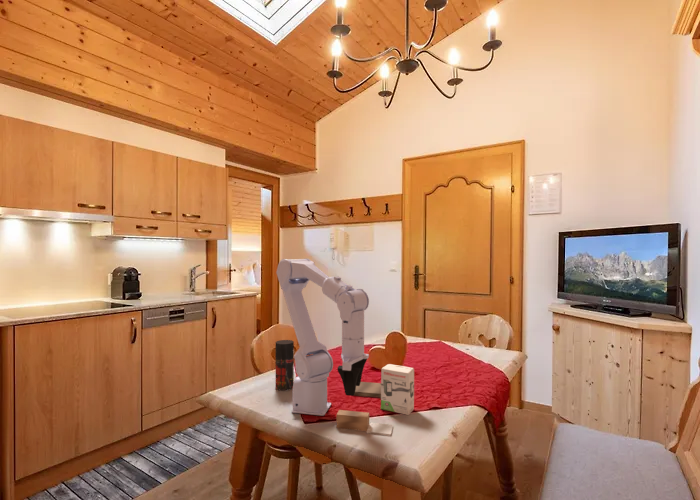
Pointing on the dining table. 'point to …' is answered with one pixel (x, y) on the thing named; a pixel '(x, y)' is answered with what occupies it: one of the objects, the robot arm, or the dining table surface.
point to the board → (368, 389)
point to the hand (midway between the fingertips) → (353, 390)
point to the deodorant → (284, 365)
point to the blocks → (361, 423)
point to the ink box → (397, 389)
